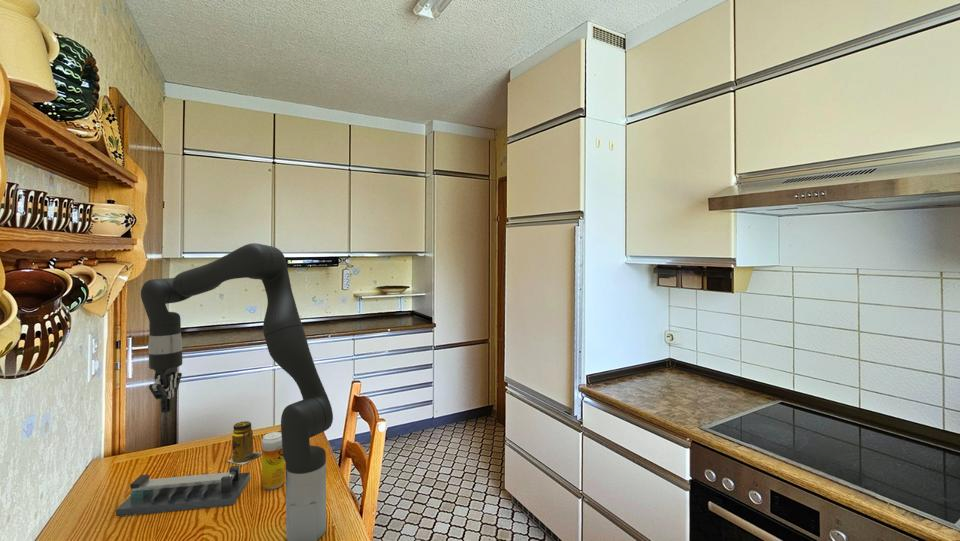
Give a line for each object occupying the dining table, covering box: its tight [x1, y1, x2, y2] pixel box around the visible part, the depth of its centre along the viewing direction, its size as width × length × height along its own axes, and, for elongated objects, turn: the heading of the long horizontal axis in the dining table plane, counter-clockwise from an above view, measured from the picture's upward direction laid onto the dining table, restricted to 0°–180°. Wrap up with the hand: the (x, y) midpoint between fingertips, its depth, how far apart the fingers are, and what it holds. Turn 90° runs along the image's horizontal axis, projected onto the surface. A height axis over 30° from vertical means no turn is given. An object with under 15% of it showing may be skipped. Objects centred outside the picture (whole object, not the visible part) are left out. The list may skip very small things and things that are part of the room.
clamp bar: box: [130, 471, 236, 492], centre depth 120 cm, size 5×25×2 cm, turn 102°
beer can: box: [261, 431, 286, 490], centre depth 127 cm, size 6×6×15 cm
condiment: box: [227, 421, 262, 466], centre depth 143 cm, size 7×8×12 cm
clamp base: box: [115, 465, 251, 517], centre depth 120 cm, size 14×28×6 cm, turn 102°
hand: (166, 411), depth 119 cm, fingers closed
